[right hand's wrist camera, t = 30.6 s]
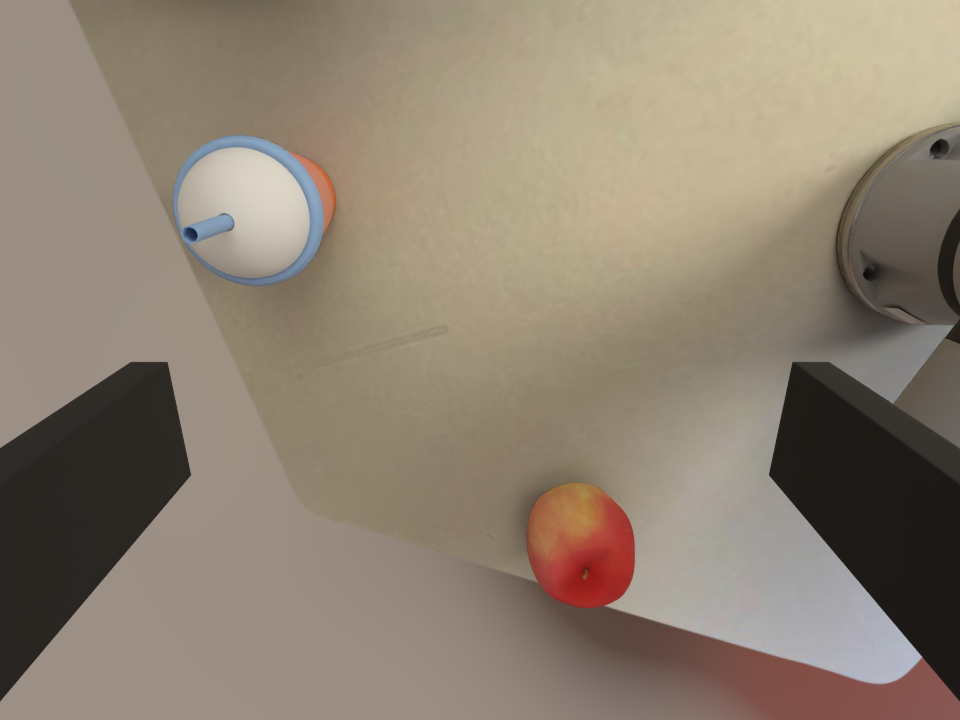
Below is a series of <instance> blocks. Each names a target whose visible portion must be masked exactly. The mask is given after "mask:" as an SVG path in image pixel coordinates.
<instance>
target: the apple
mask: <svg viewBox="0 0 960 720" xmlns="http://www.w3.org/2000/svg"><path fill="white" fill-rule="evenodd" d="M527 550H528V556H529V560H530V564H531V567H532V570H533V572H534V574H535V577H536V579H537V580H538V582H539V584H540V585H541V587H542V588H543V589H544V590H545V592H546V593H547V594H549V595H550V596H551V597H553V598H554V599H556V600H558V601H560V602H563V603H566V604H569V605H572V606H576V607H580V608H595V607H600V606H604V605H607V604H610V603H612V602H614V601H616V600H617V599H619V598H620V597H621V596H622V595H623V594H624V593H625V592H626V590H627V589H628V587H629V585H630V583H631V581H632V578H633V573H634V565H635V544H634V535H633V530H632V527H631V524H630V521H629V519H628V517H627V515H626V514H625V512H624V511H623V510H622V509H621V508H620V506H619V505H618V504H617V503H616V502H615V501H614V500H613V499H612V498H611V497H609V496H608V495H607V494H606V493H605V492H603V491H602V490H600V489H599V488H597V487H595V486H592V485H588V484H583V483H568V484H564V485H560V486H558V487H555V488H553V489H551V490H549V491H547V492H546V493H544V494H543V495H542V496H540V497H539V499H538V500H537V501H536V503H535V504H534V506H533V508H532V510H531V513H530V517H529V521H528V526H527Z"/></svg>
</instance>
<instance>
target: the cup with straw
mask: <svg viewBox="0 0 960 720" xmlns="http://www.w3.org/2000/svg"><path fill="white" fill-rule="evenodd" d="M335 204H336V198H335V192H334V188H333V185H332V183H331V181H330V179H329V177H328V176H327V174H326V173H325V172H324V171H323V169H322V168H320V167H319V166H318V165H317V164H316V163H314V162H312V161H311V160H309V159H306V158H304V157H302V156H300V155H298V154H296V153H293V152H289V151H286V150H285V149H283V148H281V147H280V146H278V145H276V144H274V143H272V142H270V141H267V140H264V139H261V138H257V137H252V136H245V135H233V136H226V137H221V138H217V139H215V140H212V141H210V142H208V143H206V144H204V145H202V146H201V147H200V148H198V149H197V150H196V151H195V152H193V153H192V154H191V155H190V156H189V158H188V159H187V160H186V161H185V163H184V164H183V166H182V167H181V169H180V171H179V173H178V176H177V179H176V182H175V186H174V191H173V211H174V217H175V221H176V224H177V227H178V230H179V232H180V235H181V237H182V239H183V241H184V242H185V244H186V246H187V247H188V249H189V250H190V251H191V253H192V254H193V255H194V256H195V257H196V258H197V259H198V260H199V261H200V262H201V263H202V264H203V265H204V266H205V267H206V268H208V269H209V270H211V271H212V272H213V273H215V274H217V275H219V276H220V277H222V278H225V279H227V280H229V281H232V282H235V283H239V284H243V285H249V286H266V285H272V284H277V283H280V282H283V281H285V280H288V279H290V278H292V277H293V276H295V275H296V274H298V273H299V272H300V271H302V270H303V269H304V268H305V267H306V266H307V265H308V264H309V262H310V261H311V260H312V258H313V257H314V255H315V254H316V252H317V250H318V248H319V245H320V243H321V239H322V235H323V234H324V233H325V231H326V230H327V228H328V226H329V223H330V220H331V219H332V216H333V214H334V211H335Z"/></svg>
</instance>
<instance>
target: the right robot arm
mask: <svg viewBox="0 0 960 720" xmlns="http://www.w3.org/2000/svg"><path fill="white" fill-rule="evenodd" d="M837 252H838V261H839V266H840V270H841V273H842V276H843V278H844V280H845V282H846V284H847V286H848V288H849V289H850V290H851V292H852V293H853V294H854V295H855V296H856V297H857V299H858V300H860V301H861V302H862V303H863V304H864V305H866V306H868V307H869V308H871V309H873V310H875V311H877V312H879V313H881V314H883V315H885V316H887V317H890V318H892V319H895V320H898V321H901V322H905V323H910V324H922V325H955V326H954V327H953V328H952V329H951V331H950V332H949V333H948V335H947V336H946V337H945V338H944V339H943V340H942V342H941V343H940V344H939V346H938V347H937V348H936V349H935V351H934V352H933V353H932V355H931V356H930V357H929V359H928V360H927V361H926V362H925V364H924V365H923V366H922V368H921V369H920V370H919V371H918V373H917V374H916V375H915V377H914V378H913V379H912V381H911V382H910V383H909V384H908V386H907V387H906V388H905V390H904V391H903V392H902V393H901V395H900V396H899V397H898V399H897V400H896V401H895V403H894V404H892V403H890V402H889V401H887V400H886V399H884V398H883V397H881V396H880V395H878V394H877V393H875V392H874V391H872V390H871V389H869V388H868V387H866V386H865V385H863V384H862V383H860V382H859V381H857V380H855V379H854V378H852V377H851V376H849V375H848V374H846V373H845V372H843V371H842V370H840V369H839V368H837V367H836V366H834V365H833V364H831V363H830V362H792V367H791V372H790V377H789V382H788V386H787V391H786V396H785V401H784V405H783V410H782V415H781V420H780V425H779V429H778V434H777V439H776V444H775V449H774V453H773V458H772V463H771V468H770V473H769V476H770V477H771V478H772V479H773V480H774V482H775V483H776V484H777V485H778V486H779V488H780V489H781V490H782V491H783V492H784V493H785V495H786V496H787V497H788V498H789V499H790V501H791V502H792V503H793V504H794V505H795V507H796V508H797V509H798V510H799V511H800V512H801V514H802V515H803V516H804V517H805V518H806V520H807V521H808V522H809V523H810V524H811V525H812V527H813V528H814V529H815V530H816V531H817V533H818V534H819V535H820V536H821V537H822V539H823V540H824V541H825V542H826V543H827V544H828V546H829V547H830V548H831V549H832V550H833V552H834V553H835V554H836V555H837V556H838V557H839V559H840V560H841V561H842V562H843V563H844V565H845V566H846V567H847V568H848V569H849V571H850V572H851V573H852V574H853V575H854V576H855V578H856V579H857V580H858V581H859V582H860V584H861V585H862V586H863V587H864V588H865V589H866V591H867V592H868V593H869V594H870V595H871V597H872V598H873V599H874V600H875V601H876V603H877V604H878V605H879V606H880V607H881V608H882V610H883V611H884V612H885V613H886V614H887V616H888V617H889V618H890V619H891V620H892V622H893V623H894V624H895V625H896V626H897V627H898V629H899V630H900V631H901V632H902V633H903V635H904V636H905V637H906V638H907V639H908V640H909V642H910V643H911V644H912V645H913V646H914V648H915V649H916V650H917V651H918V652H919V654H920V655H921V656H922V657H923V658H924V659H925V661H926V662H927V663H928V664H929V665H930V666H931V668H932V669H933V670H934V671H935V672H936V674H937V675H938V676H939V677H940V678H941V680H942V681H943V682H944V683H945V684H946V686H947V687H948V688H949V689H950V690H951V691H952V693H953V694H954V695H955V696H956V697H957V699H958V700H959V701H960V123H952V124H946V125H941V126H937V127H933V128H930V129H928V130H925V131H922V132H920V133H918V134H916V135H913V136H911V137H910V138H908V139H906V140H904V141H903V142H901V143H900V144H898V145H897V146H895V147H894V148H892V149H891V150H890V151H888V152H887V153H886V154H885V155H884V156H882V157H881V158H880V159H879V160H878V161H877V162H876V163H875V164H874V165H873V166H872V167H871V168H870V169H869V171H868V172H867V173H866V174H865V176H864V177H863V178H862V179H861V181H860V182H859V184H858V185H857V187H856V188H855V190H854V192H853V193H852V195H851V197H850V199H849V201H848V203H847V205H846V208H845V210H844V213H843V216H842V219H841V223H840V227H839V233H838V242H837ZM190 476H191V473H190V468H189V463H188V458H187V453H186V449H185V444H184V439H183V434H182V430H181V425H180V420H179V415H178V410H177V405H176V401H175V396H174V391H173V386H172V382H171V377H170V372H169V367H168V363H167V362H130V363H129V364H127V365H126V366H124V367H123V368H121V369H120V370H118V371H117V372H115V373H114V374H112V375H111V376H109V377H108V378H106V379H105V380H103V381H101V382H100V383H98V384H97V385H95V386H94V387H92V388H91V389H89V390H88V391H86V392H85V393H83V394H82V395H80V396H79V397H77V398H76V399H74V400H73V401H71V402H70V403H68V404H67V405H65V406H63V407H62V408H60V409H59V410H57V411H56V412H54V413H53V414H51V415H50V416H48V417H47V418H45V419H44V420H42V421H41V422H39V423H38V424H36V425H35V426H33V427H32V428H30V429H29V430H27V431H26V432H24V433H23V434H21V435H20V436H18V437H16V438H15V439H13V440H12V441H10V442H9V443H7V444H6V445H4V446H3V447H1V448H0V701H1V700H2V699H3V697H4V696H5V695H6V694H7V693H8V691H9V690H10V689H11V688H12V687H13V685H14V684H15V683H16V682H17V681H18V680H19V678H20V677H21V676H22V675H23V674H24V672H25V671H26V670H27V669H28V668H29V667H30V665H31V664H32V663H33V662H34V661H35V659H36V658H37V657H38V656H39V655H40V654H41V652H42V651H43V650H44V649H45V647H46V646H47V645H48V644H49V643H50V642H51V640H52V639H53V638H54V637H55V636H56V635H57V633H58V632H59V631H60V630H61V629H62V627H63V626H64V625H65V624H66V623H67V622H68V620H69V619H70V618H71V617H72V615H73V614H74V613H75V612H76V611H77V610H78V608H79V607H80V606H81V605H82V604H83V603H84V601H85V600H86V599H87V598H88V597H89V595H90V594H91V593H92V592H93V591H94V589H95V588H96V587H97V586H98V585H99V584H100V582H101V581H102V580H103V579H104V578H105V576H106V575H107V574H108V573H109V572H110V571H111V569H112V568H113V567H114V566H115V565H116V563H117V562H118V561H119V560H120V559H121V557H122V556H123V555H124V554H125V553H126V551H127V550H128V549H129V548H130V547H131V546H132V544H133V543H134V542H135V541H136V540H137V538H138V537H139V536H140V535H141V534H142V533H143V531H144V530H145V529H146V528H147V527H148V525H149V524H150V523H151V522H152V521H153V520H154V518H155V517H156V516H157V515H158V514H159V512H160V511H161V510H162V509H163V508H164V506H165V505H166V504H167V503H168V502H169V501H170V499H171V498H172V497H173V496H174V495H175V493H176V492H177V491H178V490H179V489H180V487H181V486H182V485H183V484H184V483H185V482H186V480H187V479H188V478H189V477H190Z"/></svg>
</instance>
